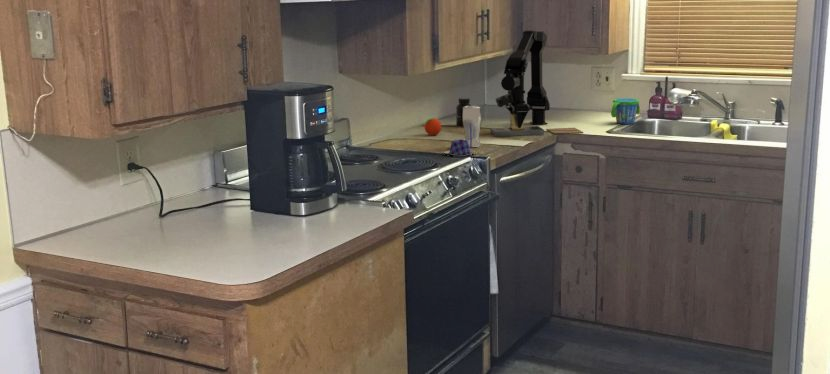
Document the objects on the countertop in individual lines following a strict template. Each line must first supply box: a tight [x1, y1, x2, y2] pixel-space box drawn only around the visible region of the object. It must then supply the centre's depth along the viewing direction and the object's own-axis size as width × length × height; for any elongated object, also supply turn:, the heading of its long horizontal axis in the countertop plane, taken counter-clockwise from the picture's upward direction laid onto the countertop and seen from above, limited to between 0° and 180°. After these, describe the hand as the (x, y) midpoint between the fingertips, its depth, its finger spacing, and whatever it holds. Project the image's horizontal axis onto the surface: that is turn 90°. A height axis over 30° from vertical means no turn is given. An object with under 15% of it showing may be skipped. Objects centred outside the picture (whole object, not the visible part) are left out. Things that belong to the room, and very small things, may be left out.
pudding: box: [443, 139, 478, 155], centre depth 328 cm, size 12×12×5 cm
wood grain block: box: [509, 113, 525, 130], centre depth 369 cm, size 4×4×8 cm
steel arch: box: [489, 125, 545, 138], centre depth 370 cm, size 10×20×2 cm, turn 97°
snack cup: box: [610, 97, 641, 125], centre depth 389 cm, size 16×10×10 cm
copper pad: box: [546, 127, 584, 136], centre depth 372 cm, size 12×12×1 cm
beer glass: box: [462, 105, 482, 148], centre depth 342 cm, size 7×7×15 cm
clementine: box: [424, 117, 442, 136], centre depth 370 cm, size 8×7×7 cm
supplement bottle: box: [455, 97, 472, 127], centre depth 392 cm, size 7×7×12 cm
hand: (516, 126), depth 370 cm, fingers open, 8 cm apart
